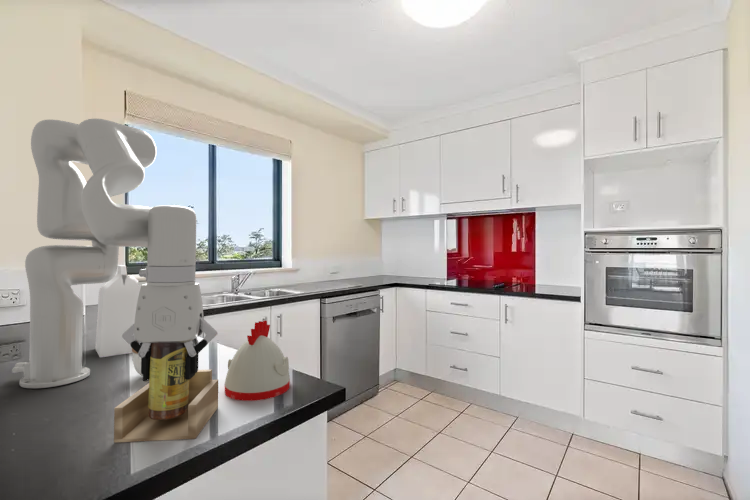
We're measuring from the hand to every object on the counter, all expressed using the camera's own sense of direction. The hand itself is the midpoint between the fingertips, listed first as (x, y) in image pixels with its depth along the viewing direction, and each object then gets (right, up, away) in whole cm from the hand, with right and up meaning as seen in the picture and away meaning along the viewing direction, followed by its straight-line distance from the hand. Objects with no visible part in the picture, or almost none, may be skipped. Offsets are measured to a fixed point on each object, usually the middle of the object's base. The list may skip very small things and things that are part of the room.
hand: (170, 376), depth 65 cm
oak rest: (0, -8, 0) cm, 8 cm away
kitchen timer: (+10, -9, +18) cm, 22 cm away
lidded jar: (-17, -9, +25) cm, 32 cm away
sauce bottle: (0, -7, 0) cm, 7 cm away
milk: (-42, -9, +49) cm, 65 cm away
